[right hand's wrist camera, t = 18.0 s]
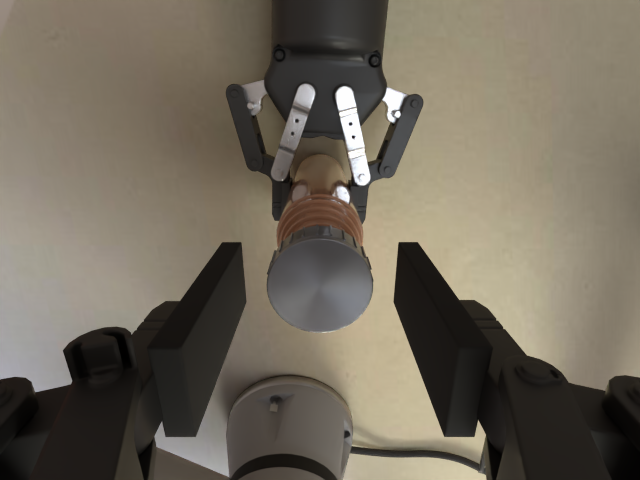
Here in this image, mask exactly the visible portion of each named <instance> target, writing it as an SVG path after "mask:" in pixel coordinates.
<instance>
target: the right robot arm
mask: <svg viewBox="0 0 640 480" xmlns="http://www.w3.org/2000/svg"><path fill="white" fill-rule="evenodd" d="M245 304H246V292H245V280H244V268H243V256H242V244H241V242H222V243H221V245H220V246H219V248H218V249H217V250H216V252H215V253H214V255H213V256H212V257H211V259H210V260H209V262H208V263H207V264H206V266H205V267H204V269H203V270H202V271H201V273H200V274H199V275H198V277H197V278H196V280H195V281H194V282H193V284H192V285H191V287H190V288H189V289H188V291H187V292H186V294H185V295H184V296H183V298H182V299H181V301H165V302H164V303H162V304H161V305H159V306H158V307H156V308H154V309H153V310H152V311H151V312H150V313H149V315H148V316H147V317H146V318H145V319H144V322H142V323H141V324H140V325H139V327H138V328H137V330H135V331H134V333H133V334H132V335H131V332H129V331H128V330H127V329H125V328H120V327H106V328H101V329H97V330H93V331H90V332H88V333H86V334H83V335H81V336H79V337H78V338H76V339H75V340H73V341H72V342H70V343H69V344H68V345H67V346H66V347H65V349H64V350H63V352H64V356H65V359H66V362H67V365H68V368H69V372H70V375H71V378H72V383H71V385H67V386H63V387H58V388H54V389H49V390H45V391H40V392H35V391H34V388H33V385H32V383H31V381H29V380H28V379H26V378H21V377H12V378H6V379H1V380H0V480H343V477H344V473H345V469H346V465H347V462H348V458H349V454H350V453H352V454H361V455H371V456H381V457H433V458H442V459H447V460H452V461H455V462H459V463H462V464H464V465H467V466H469V467H471V468H473V469H475V470H477V471H478V472H479V473H482V474H485V475H486V478H487V480H640V378H638V377H632V376H626V375H624V376H615V377H613V378H612V379H611V380H609V383H608V385H607V388H606V391H603V390H598V389H594V388H589V387H584V386H580V385H575V384H571V383H568V381H567V379H566V378H565V377H564V375H563V374H562V373H561V372H560V371H559V370H558V369H556V368H555V367H554V366H552V365H551V364H549V363H547V362H544V361H542V360H540V359H537V358H534V357H530V356H527V355H526V354H525V353H524V352H523V350H522V349H521V348H520V347H519V346H518V344H517V343H516V342H515V341H514V340H513V338H512V337H511V336H510V335H509V334H508V332H507V331H506V330H505V329H503V326H502V325H501V324H500V323H499V321H496V318H495V317H494V315H493V314H492V313H491V312H490V311H489V309H488V308H486V307H484V306H483V305H481V304H480V303H478V302H477V301H475V300H459V299H458V298H457V296H456V295H455V294H454V292H453V291H452V289H451V288H450V287H449V285H448V284H447V282H446V281H445V280H444V278H443V277H442V275H441V274H440V273H439V271H438V270H437V269H436V267H435V266H434V264H433V263H432V262H431V260H430V259H429V257H428V256H427V255H426V253H425V252H424V250H423V249H422V248H421V246H420V245H419V243H418V242H399V244H398V256H397V268H396V280H395V292H394V304H395V307H396V310H397V312H398V315H399V318H400V320H401V323H402V326H403V328H404V331H405V334H406V336H407V339H408V341H409V344H410V347H411V349H412V352H413V355H414V357H415V360H416V363H417V365H418V368H419V371H420V373H421V376H422V379H423V381H424V384H425V387H426V389H427V392H428V395H429V397H430V400H431V403H432V405H433V408H434V411H435V413H436V416H437V419H438V421H439V424H440V426H441V429H442V432H443V434H444V437H474V436H475V432H476V427H477V422H478V420H479V422H480V424H481V426H482V428H483V430H484V431H485V433H486V438H485V442H484V447H483V451H482V456H481V460H480V464H477V463H475V462H473V461H471V460H469V459H467V458H464V457H461V456H458V455H455V454H451V453H446V452H440V451H428V450H409V451H395V450H379V449H370V448H361V447H353V446H352V439H353V426H352V417H351V413H350V410H349V408H348V406H347V404H346V402H345V401H344V400H343V398H342V397H341V396H340V395H339V394H338V393H337V392H336V391H334V390H333V389H332V388H330V387H328V386H327V385H325V384H323V383H321V382H319V381H316V380H313V379H309V378H305V377H299V376H279V377H273V378H269V379H265V380H263V381H260V382H258V383H256V384H254V385H252V386H250V387H249V388H247V389H246V390H245V391H244V392H243V393H242V394H240V396H239V397H238V398H237V399H236V401H235V402H234V404H233V406H232V409H231V412H230V416H229V419H228V424H227V433H226V438H227V452H228V464H229V477H230V478H229V477H227V476H225V475H222V474H220V473H217V472H215V471H213V470H210V469H208V468H205V467H203V466H201V465H198V464H196V463H193V462H191V461H189V460H186V459H184V458H181V457H179V456H177V455H174V454H172V453H170V452H167V451H165V450H162V449H160V448H158V447H156V442H155V438H154V435H155V433H156V431H157V429H158V427H159V425H160V423H161V421H162V422H163V427H164V432H165V436H166V437H196V434H197V432H198V429H199V426H200V424H201V421H202V419H203V416H204V413H205V411H206V408H207V405H208V403H209V400H210V397H211V395H212V392H213V389H214V387H215V384H216V381H217V379H218V376H219V373H220V371H221V368H222V365H223V363H224V360H225V357H226V355H227V352H228V349H229V347H230V344H231V341H232V339H233V336H234V334H235V331H236V328H237V326H238V323H239V320H240V318H241V315H242V312H243V310H244V307H245Z"/></svg>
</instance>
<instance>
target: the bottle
mask: <svg viewBox="0 0 640 480" xmlns="http://www.w3.org/2000/svg"><path fill="white" fill-rule="evenodd" d="M317 224H318V226H330V225H331V226H332V227H333V228H337V229H339V230H344V231H345V232H346V233H347V234H349V235H350V236H352V237H355V239H356V241H357V242H358V243H359V245H360V246H362V244H363V228H362V224H361V220H360V218H359V215H358V212H357V209H356V206H355V204H354V201H353V198H352V195H351V192H350V189H349V187H348V184H347V181H346V178H345V175H344V173H343V170H342V167H341V166H340V164H339V163H338V162H337V161H336V160H335V159H334V158H332V157H330V156H328V155H324V154H316V155H312V156H309V157H308V158H306V159H305V160H304V161H303V162H302V163H301V164H300V166H299V167H298V170H297V172H296V175H295V178H294V181H293V184H292V187H291V189H290V192H289V195H288V198H287V201H286V203H285V206H284V209H283V212H282V215H281V217H280V220H279V223H278V227H277V246H278V247H279V246H280V243H281V241H282V240H283V241H284V240H285V239H286V238H287V237H288V236H290V234H291V232H293V233H294V232H296V231H298V230H301V229H303V227H305V228H307V227H311V226H316V225H317Z"/></svg>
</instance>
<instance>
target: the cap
mask: <svg viewBox="0 0 640 480" xmlns="http://www.w3.org/2000/svg"><path fill="white" fill-rule="evenodd" d="M370 270H371V265H370V262H369V259H368V257H366V254H365V251H364V248H363V246H360V245H359V243H358V242H357V241H356V239H355V237H352V236H350V235H349V234H347V233H346V232H345V231H344V230H339V229H337V228H333V227H332V226H331V225H330V226H318V224H317V225H316V226H311V227H307V228H305V227H303V229H301V230H298V231H296V232H294V233H293V232H291V234H290V236H288V237H287V238H286V239H285V240H284V241H283V240H282V241H281V243H280V246H279V247H278V249H277V250H275V251H274V254H273V257H272V260H271V263H270V266H269V269H268V272H267V274H268V278H267V292H268V297H269V300H270V303H271V304H272V306H273V308H274V310H275V311H276V312H277V314H278V315H279V316H280V317H281V318H282V319H283V320H284V321H286V322H287V323H289V324H290V325H292V326H294V327H296V328H298V329H301V330H304V331H308V332H315V333H324V332H331V331H336V330H339V329H342V328H344V327H346V326H348V325H350V324H351V323H353V322H354V321H355V320H357V319H358V318H359V317H360V316H361V315H362V314H363V312H364V311H365V310H366V308H367V306H368V304H369V302H370V299H371V296H372V292H373V277H372V274H371V271H370Z"/></svg>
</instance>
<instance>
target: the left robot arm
mask: <svg viewBox="0 0 640 480" xmlns="http://www.w3.org/2000/svg"><path fill="white" fill-rule="evenodd" d="M387 9H388V0H272V57H271V63H270V66H269V68H268V70H267V72H266V74H265V77H264V80H260V81H256V82H252V83H248V84H244V85H239V84H231V85H230V86H228V88H227V89H226V97H227V100H228V103H229V107H230V110H231V113H232V117H233V120H234V124H235V127H236V130H237V134H238V137H239V141H240V144H241V147H242V151H243V154H244V158H245V161H246V164H247V167H248V168H249V169H250V170H251V171H259V172H261V173H263V174H266V175H267V176H269V177H270V178H271V180H272V215H273V217H274V220H275V221H279V220H280V217H281V215H282V212H283V209H284V206H285V203H286V201H287V198H288V195H289V192H290V189H291V187H292V182H293V178H292V177H290V168H291V165H292V162H293V159H294V156H295V154H296V151H297V148H298V146H299V143H300V140H301V137H303V138H314V137H318V136H326V137H329V138H332V139H339V140H343V141H344V145H345V149H346V153H347V157H348V161H349V165H350V169H351V174H352V177H351V180H348V187H349V189H350V192H351V195H352V198H353V201H354V204H355V206H356V209H357V212H358V215H359V218H360V220H361V224H363V222H364V220H365V216H366V206H367V196H368V188H369V185H370V184H371V183H372V182H373V181H375V180H378V179H381V178H390V177H392V176H393V175H394V174H395V172H396V169H397V167H398V164H399V162H400V160H401V157H402V155H403V152H404V150H405V148H406V145H407V143H408V140H409V138H410V135H411V133H412V131H413V128H414V126H415V123H416V121H417V119H418V116H419V114H420V111H421V109H422V106H423V99H422V97H421V96H420V95H418V94H412V95H407V94H405V93H402V92H399V91H397V90H394V89H392V88H389V87H387V83H386V79H385V77H384V74H383V70H382V57H383V47H384V37H385V28H386V18H387ZM267 94H268V95H269V97H270V98H271V100H272V101H273V103H274V105H275V106H276V108H277V109H278V111H279V112H280V114H281V115H282V117H283V118H284V120H285V122H286V126H285V129H284V132H283V135H282V138H281V141H280V144H279V149H278V152H277V155H276V158H275V157H273V156H270V155H268V154H266V150H265V147H264V143H263V139H262V136H261V132H260V128H259V125H258V121H257V117H256V115H257V114H259V113H260V112H261V111H262V108H263V105H262V101H263V98H264V97H265V96H266V95H267ZM381 101H382V102H383V103H384V104H385V106H386V111H385V117H386V119H387V120H388V121H389V122H391V123H390V125H389V128H388V130H387V133H386V136H385V138H384V141H383V143H382V146H381V148H380V151H379V153H378V156H377V159H376V160H374V161H371V162H367V158H366V153H365V146H364V141H363V137H362V132H361V128H360V127H361V126H362V124H363V123H364V122H365V121H366V119H367V118H368V117H369V116H370V114H371V113H372V112H373V111H374V110H375V108H376V107H377V106H378V105H379V103H380V102H381Z"/></svg>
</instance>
